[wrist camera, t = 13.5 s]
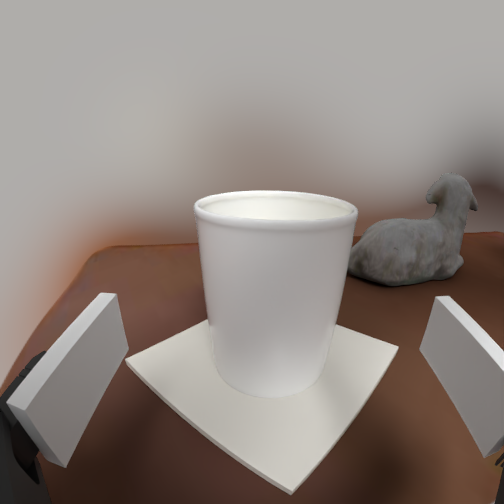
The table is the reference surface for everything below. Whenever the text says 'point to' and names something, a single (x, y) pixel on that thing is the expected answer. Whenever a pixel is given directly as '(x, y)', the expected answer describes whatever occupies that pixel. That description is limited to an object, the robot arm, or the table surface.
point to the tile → (266, 401)
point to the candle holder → (273, 284)
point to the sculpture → (417, 240)
